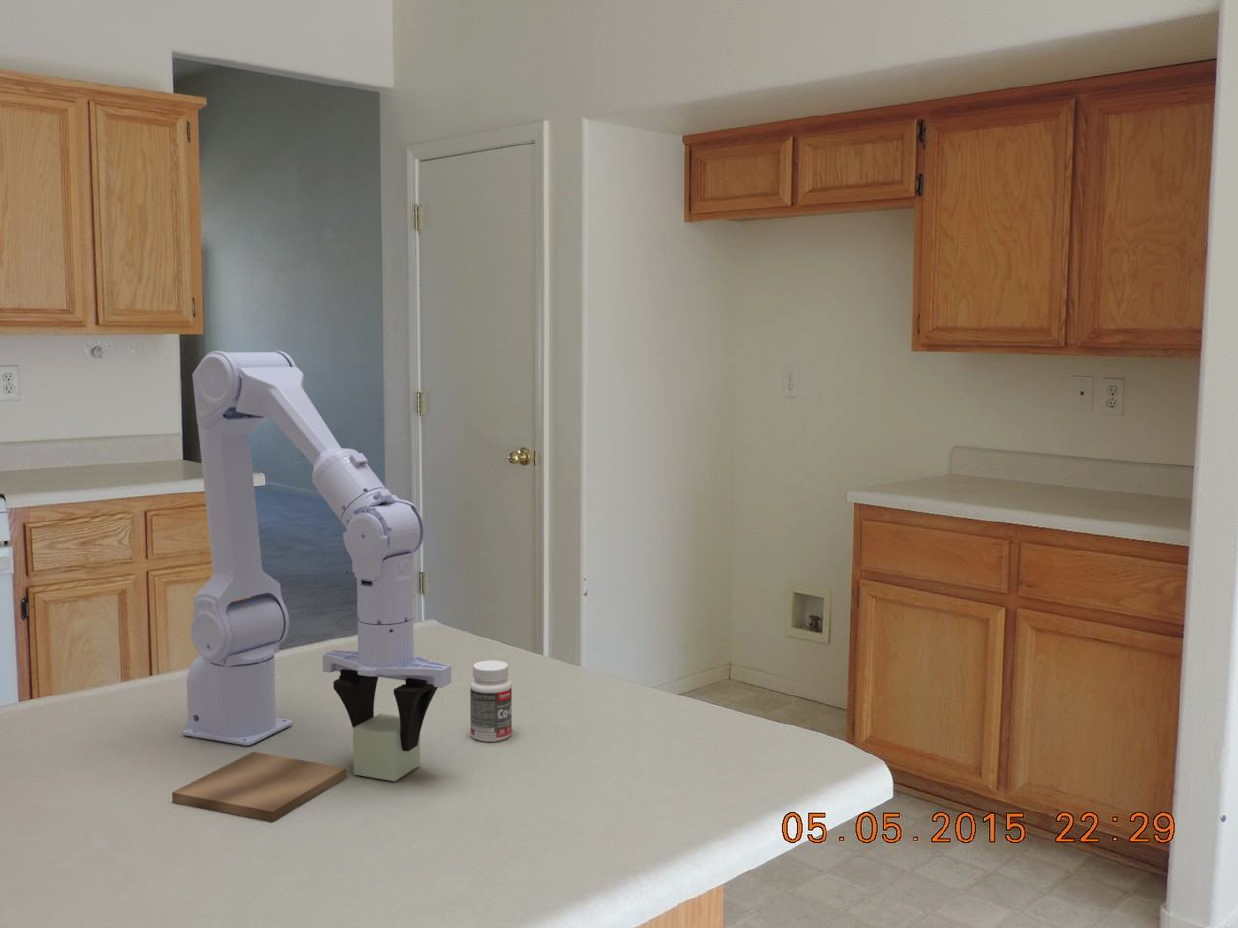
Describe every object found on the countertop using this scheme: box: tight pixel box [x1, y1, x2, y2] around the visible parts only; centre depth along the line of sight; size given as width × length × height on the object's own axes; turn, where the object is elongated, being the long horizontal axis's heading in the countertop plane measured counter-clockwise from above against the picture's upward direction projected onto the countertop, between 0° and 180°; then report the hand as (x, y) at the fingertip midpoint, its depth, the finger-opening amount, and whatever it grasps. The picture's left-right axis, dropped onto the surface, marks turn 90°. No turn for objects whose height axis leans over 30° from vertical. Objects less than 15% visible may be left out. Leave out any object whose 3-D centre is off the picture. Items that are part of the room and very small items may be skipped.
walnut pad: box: [171, 751, 348, 823], centre depth 115 cm, size 12×12×1 cm
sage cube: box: [352, 713, 421, 782], centre depth 120 cm, size 5×5×5 cm
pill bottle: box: [469, 660, 513, 743], centre depth 131 cm, size 5×5×8 cm
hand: (387, 744), depth 119 cm, fingers closed on sage cube, 5 cm apart
